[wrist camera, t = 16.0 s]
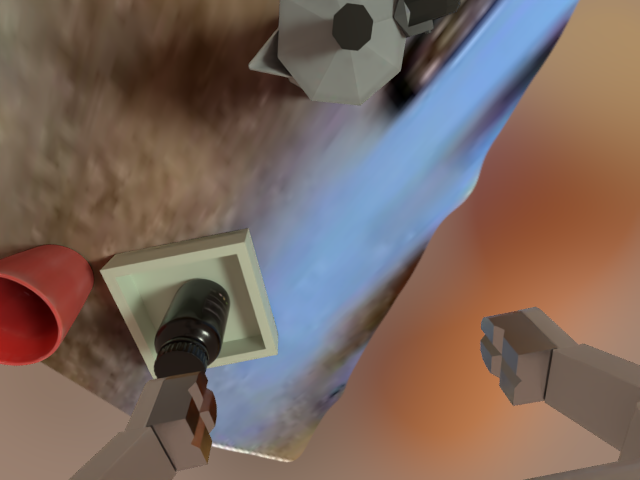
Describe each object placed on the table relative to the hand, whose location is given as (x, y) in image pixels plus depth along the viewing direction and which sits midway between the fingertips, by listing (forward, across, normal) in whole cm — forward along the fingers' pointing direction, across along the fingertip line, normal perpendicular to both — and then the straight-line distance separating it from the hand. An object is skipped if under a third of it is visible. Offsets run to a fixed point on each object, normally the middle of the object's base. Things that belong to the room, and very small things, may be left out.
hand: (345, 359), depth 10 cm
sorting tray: (+32, +16, +16) cm, 39 cm away
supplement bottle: (+31, +15, +16) cm, 38 cm away
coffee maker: (+33, -5, -9) cm, 34 cm away
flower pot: (+32, +31, +10) cm, 46 cm away
